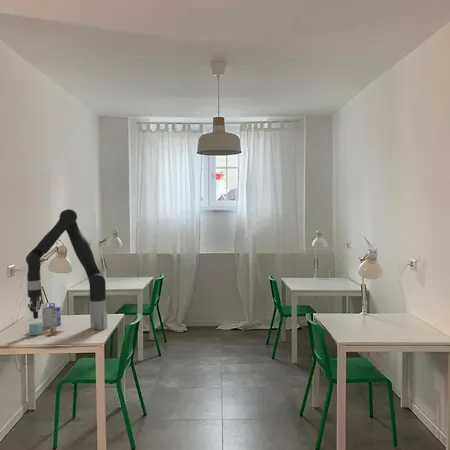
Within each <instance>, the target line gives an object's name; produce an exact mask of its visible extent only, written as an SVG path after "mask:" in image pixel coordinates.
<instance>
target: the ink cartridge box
mask: <svg viewBox="0 0 450 450" xmlns="http://www.w3.org/2000/svg"><path fill="white" fill-rule="evenodd" d="M41 309H42V311H41V312H42V313H41V314H42V315H41V316H42V328H43V327H45V328H46V327H48V328H49V327H50V328H51V327H56V328H57V327H60V326H61V325H62V316H61V314H62V311H61V306H56V303H52V302H51V303H50V302H49V306H45V307H41Z"/></svg>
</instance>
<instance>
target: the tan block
mask: <svg viewBox="0 0 450 450" xmlns="http://www.w3.org/2000/svg"><path fill="white" fill-rule="evenodd" d="M49 331H50V335H56V334H57V331H58V330H57V327H50V328H49Z"/></svg>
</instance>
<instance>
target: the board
mask: <svg viewBox="0 0 450 450" xmlns="http://www.w3.org/2000/svg"><path fill="white" fill-rule="evenodd" d="M64 332H65V330H57V334H56V335H50V330H42V333H41V334H39V335H29V332H27V333H26V334H25V333H24V334H23V335H22V336H25V337H26V336H27V337H28V336H29V337H30V336H32V337H33V336H34V337H35V336H36V337H37V336H38V337H39V336H40V337H42V336H44V337H57V336H58V335H60V334H62V333H64Z"/></svg>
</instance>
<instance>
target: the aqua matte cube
mask: <svg viewBox="0 0 450 450" xmlns="http://www.w3.org/2000/svg"><path fill="white" fill-rule="evenodd" d="M28 329H29V330H28V331H29V332H28V333H29V335H39V334H41V333H42V331H43V321H41V322H40V321H38V322H37V321H36V322H35V321H34V322H31V323H29V324H28Z"/></svg>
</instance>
